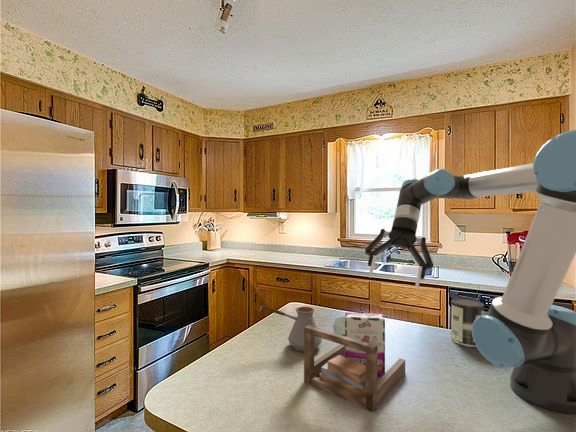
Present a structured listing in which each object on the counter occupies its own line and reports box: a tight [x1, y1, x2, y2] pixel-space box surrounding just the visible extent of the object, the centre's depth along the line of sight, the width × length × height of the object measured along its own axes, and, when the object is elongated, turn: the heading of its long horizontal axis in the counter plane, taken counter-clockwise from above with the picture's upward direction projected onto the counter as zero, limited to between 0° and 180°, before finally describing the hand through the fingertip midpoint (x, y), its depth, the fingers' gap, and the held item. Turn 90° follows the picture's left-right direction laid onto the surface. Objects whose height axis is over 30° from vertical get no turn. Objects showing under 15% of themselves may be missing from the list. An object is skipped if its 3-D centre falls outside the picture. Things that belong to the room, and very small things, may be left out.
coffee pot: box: [259, 304, 323, 353], centre depth 106 cm, size 21×12×15 cm, turn 99°
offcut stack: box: [318, 355, 366, 397], centre depth 83 cm, size 14×7×6 cm, turn 50°
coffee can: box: [450, 298, 485, 348], centre depth 112 cm, size 10×10×14 cm
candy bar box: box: [344, 312, 386, 377], centre depth 91 cm, size 11×5×16 cm, turn 81°
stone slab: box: [332, 315, 345, 336], centre depth 125 cm, size 22×3×10 cm
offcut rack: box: [303, 325, 406, 413], centre depth 87 cm, size 20×22×15 cm
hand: (392, 282), depth 94 cm, fingers open, 13 cm apart
